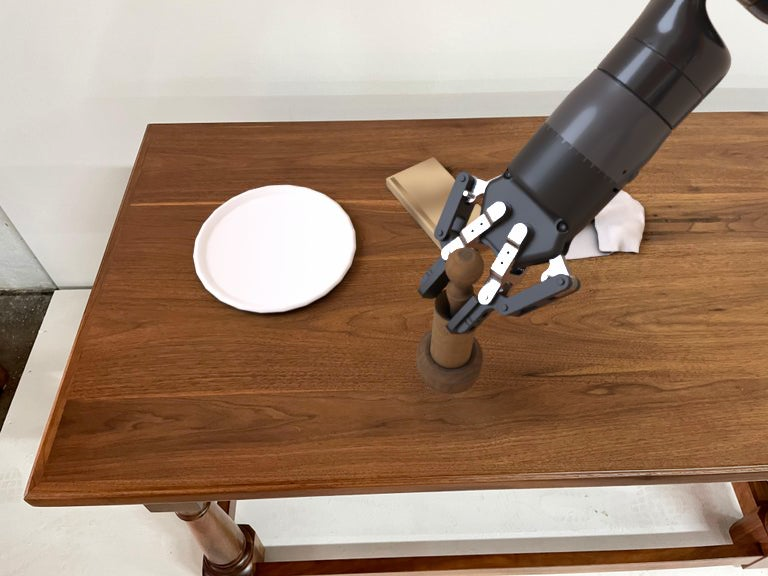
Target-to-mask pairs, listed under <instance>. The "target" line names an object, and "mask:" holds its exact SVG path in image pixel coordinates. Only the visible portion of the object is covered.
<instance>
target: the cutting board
mask: <svg viewBox="0 0 768 576" xmlns="http://www.w3.org/2000/svg"><path fill="white" fill-rule="evenodd" d="M455 180H456V178H454V176H452V175H451V174H450V173H449V171H448V170H447V169H446V168H444V166H443V165H442V164H441V163H440V162H439V161H438V159H437V158H436V157H434V156H432V157H430V158H428V159H426V160H424V161H421V162H418V163H416V164H414V165H413V166H410V167H408V168H405V169H403V170H402V171H399V172H397V173H394V174H393V175H390V176H388V177H386V179H385V186H386V188H387V189H388V190H389V191H390V192H391V194H392V195H393V196H394V197H395V198H396V199H397V200H398V202H399V203H400V204H401V205H402V206H403V208H404V209H405V210H406V211H407V213H409V215H410V216H411V217H412V218H413V220H415V222H416V223H417V224H418V225H419V227H420V228H421V229H422V230H423V231H424V232H425V233H426V235H427V236H428V237H429V238H430V239H431V240H432V242H433V243H434V244H435V245H436V247H438V249H439V250H440V251H441V252H442V248H441V245H440V242H439V240H437V239H436V238H435V236H434V231H435V228H436V226H437V224H438V221H439V219H440V216H441V214H442V211H443V209H444V207H445V204H446V202H447V199H448V197H449V194H450V192H451V190H452V187H453V185H454V182H455ZM480 212H481V205H480V204H479V203H478V204H476V205H475V206H474V209H473V211H472V214H471V216H470V218H469V221H468V223H467V225H466V227H467V226H468V225H470V224H471V223H472V222H474V221H475V220H476V219H477V218H479V217H480Z"/></svg>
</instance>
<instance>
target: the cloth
mask: <svg viewBox="0 0 768 576" xmlns="http://www.w3.org/2000/svg"><path fill="white" fill-rule="evenodd" d="M501 175H502V174H500V175H497V176H495V177H493V178H491V179H489V180H487V181H486V182H488V183H489V182H490V181H491V180H493V179H495V178H497V177H499V176H501ZM645 220H646V215H645V206H644V205H643V204H642V203H641V202H640V201H639V200H637V199H634V198H633V197H632V195H630V194H629V193H628V192H626V191H624V190H623V189H622V190H621V191H620V192H619V193H618V194H617V195H616V196H615V197H614V198H613V199H612V200H611V201H610V202H609V203H608V204H607V205H606V206H605V208H604V209H603V210H602V211H601V212H600V213H599V214H598V215H597V216H596V217H595V218H594V219H593V220H592V221H591V222H590V223H589V224H588V225H587V226H586V227H585V228H584V229H583V230H582V231H581V232H580V233H579V234H577V235H576V236H575V237H574V239H573V240H572V242H571V245H570V248H569V251H568V253H567V255H566V256H565V258H566V260H567V261H571V260H580V259H588V258H589V259H590V258H597V257H606V256H610V255H612V254H613V253H614V252H626V253H631V252H632V253H635V254H639V250H640V247H641V243H642V240H643V233H644V231H645V222H646V221H645Z"/></svg>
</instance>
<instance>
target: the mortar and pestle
mask: <svg viewBox="0 0 768 576" xmlns="http://www.w3.org/2000/svg"><path fill="white" fill-rule="evenodd" d="M445 270H446V274H447V276H448V278H449V279H450V280H451V281H450V282H449V283H448V284H447V286H446V287H445V288H444V289H443V291H442V292H441V293H440V294H439V295H438V296H437V297H436V298H434V304H433V316H432V317H433V318H432V328H431V329H429V330H428V331H427V332H425V333H424V334H423V336H422V337H421V338H420V340H419V341H418V345H417V349H416V355H415V356H416V357H415V365H416V370H417V374H418V375H419V377H420V379H421V380H422V382H423V383H424V384H425V385H426V386H427V387H429V388H430V389H431V390H434V391H435V392H438V393H441V394H446V395H455V394H460V393H464V392H466V391H468V390H470V389H471V388H472V387H473V386H474V385H475V384H476V382H477V381H478V379H479V378H480V375H481V372H482V368H483V367H482V366H483V362H484V352H483V348H482V346H481V343H480V342H479V340H478V338H476V337H475V336H476V335H475V334H476V330H477V328H476V329H475V330H474V332H471V333H469V334H451V333H450V332H449V331H448V330H447V328H446V325H447V323H448V322H449V321H450V320H451V319H452V318H453V317H454V316H455V315H456V314H457V313H458V312H459V311H460V309H461V308H462V307H463V306H464V305H465V304H466V303H467V302H468V301H469V300H470V299H471V298H472V296H477V294H476V293H475V287H474V284H476V283H477V282H479V281H480V279H481V278H482V276H483V274H484V270H485V263H484V259H483V257H482V256H481V254H480V252H479V253H478V252H477V251H476V250H474V249H472V248H468V247H461V248H458V249H455V250H454V251H452V252H451V253H450V255H449V256H448V258H447V260H446V264H445Z"/></svg>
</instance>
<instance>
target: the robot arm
mask: <svg viewBox="0 0 768 576" xmlns="http://www.w3.org/2000/svg"><path fill="white" fill-rule="evenodd" d="M735 2H737V3H738V4H739V5H741V7H742V8H743V9H745V10H746V11H747V12H748V13H749V14H750V15H751V16H752V17H754V18H755V19H756V20H758V21H759V22H761V23H763V24H765V25H767V26H768V0H735ZM731 65H732V55H731V52H730V50H729V48H728V46H727V44H726V42H725V41H724V39H723V37H722V36H721V34H720V33H719V31H718V30H717V28H716V27H715V25H714V23H713V22H712V20H711V18H710V15H709V12H708V9H707V0H649V2H648V3H647V5H646V6H645V8H643V10H642V12H641V13H640V14H639V16H638V17H637V18H636V19H635V21H634V23H632V25H631V26H630V27H629V28H628V30H627V31H626V32H625V33H624V35H623V36H622V37H621V38H620V39H619V40H618V42H617V43H616V44H615V45H614V46H613V47H612V48H611V49H610V51H608V53H607V54H606V55H605V57H604V58H603V59H602V60H601V61H600V62H599V63H598V65H597V66H596V68H594V69H593V70H592V71H591V72H590V73H589V75H587V76H586V77H585V78H584V79H583V80H582V81H580V83H578V84H577V85H576V86H575V87H574V88H573V89H572V90H571V91H570V92H569V93H568V94H567V95H566V97H565V98H563V100H562V101H561V102H560V103H559V105H557V107H556V108H555V109H554V110H553V111H552V113H551V114H550V115H549V116H548V117H547V118H546V120H545V121H544V122H543V123H542V124H541V126H539V128H538V129H537V130H536V131H535V132H534V134H533V135H532V136H531V137H530V138H529V139H528V140H527V142H526V143H525V144H524V146H523V147H521V149H520V150H519V151H518V152H517V154H515V156H514V157H513V158H512V159H511V160H510V162H509V163H508V165H507V168H506V169H505V170H504V172H503V173H502V174H500V175H501V176H500V175H498V176H499V177H498V176H496V177H497V178H496V177H494V178H495V179H493V178H492V179H493V180H491V179H490V180H491V181H490V182H489V183H488V182H487V181H485V180H482V178H479V177H477V176H476V175H473V174H471V173H469V172H467V171H460V172H459V173H458V174H457V176H456V178H455V182H454V185H453V187H452V190H451V192H450V194H449V197H448V199H447V202H446V204H445V207H444V209H443V211H442V214H441V216H440V219H439V221H438V224H437V226H436V228H435V231H434V236H435V238H436V239H437V240H439V242H440V245H441V248H442V251H441V253H440V255H439V257H438V258H437V259H436V260H435V262H433V264H432V265H431V266H430V267H429V269H428V270H427V271H426V272H425V273H424V274H423V276H422V277H421V279H420V281H419V285H420V287H418V289H417V293H418V294H419V295H420V297H421V298H422V299H426V300H435V299H436V297H437V296H438V295H439V294H440V293H441V292H442V291H443V290H445V289H446V288H447V284H448V283H449V282H450V281H451V280H450V279H449V278H448V276H447V274H446V270H445V264H446V260H447V258H448V256H449V255H450V253H451V252H452V251H454V250H455V249H458V248H461V247H468V248H472V249H474V250H476V251H477V252H478V253H479V254H480V253H481V252H485V251H487V250H489V249H491V250H492V252H493V255H494V256H495V257H496V258H495V260H494V262H493V263H492V265H491V267H490V269H489V275H488V277H487V279H486V281H485V282H484V284H483V285H482V287H481V289H480V290H479V292H478V295H476V296H472V298H471V299H470V300H469V301H468V302H467V303H466V304H465V305H464V306H463V307H462V308H461V309H460V311H459V312H458V313H457V314H456V315H455V316H454V317H453V318H452V319H451V320H450V321H449V322H448V323H447V325H446V328H447V330H448V331H449V332H450V333H451V334H469V333H471V332H474V330H475V329H476V330H477V329H478V327H480V325H482V324H483V322H484V321H486V319H487V318H488V317H489V316H490V315H491V314H492V313H493V312H494V311H497V312H498V314H500V315H501V316H506V317H514V318H521V317H523V316H525V315H527V314H530V313H532V312H534V311H537V310H539V309H541V308H543V307H546V306H548V305H550V304H552V303H554V302H557V301H559V300H561V299H564V298H566V297H568V296H570V295H572V294H575V293H577V292H578V291H579V290H580V289H581V285H582V283H581V280H580V279H579V278H578V277H576V276H574V275H573V273H572V270H571V267H570V265H569V263H568V260H566V258H565V256H566V255H567V253H568V251H569V248H570V245H571V242H572V240H573V239H574V237H575V236H576V235H577V234H579V233H580V232H581V231H582V230H583V229H584V228H585V227H586V226H587V225H588V224H589V223H590V222H591V221H592V220H593V219H594V218H595V217H596V216H597V215H598V214H599V213H600V212H601V211H602V210H603V209H604V208H605V206H606V205H607V204H608V203H609V202H610V201H611V200H612V199H613V198H614V197H615V196H616V195H617V194H618V193H619V192H620V191H621V190H622V191H623V189H624V188H625V187H626V186H627V185H628V184H631V183H632V182H633V181H634V180H635V179H636V178H637V176H639V174H640V172H641V170H643V169H644V167H645V166H647V164H648V163H649V162H650V161H651V160H652V159H653V158H654V156H655V155H656V154H657V152H658V151H659V149H660V148H661V147H662V145H663V144H664V142H666V141H667V139H668V138H669V137H670V135H672V133H673V132H674V131H675V130H676V129H677V128H679V126H680V125H681V124H682V123H683V122H684V121H685V120H686V119H687V118H688V117H689V115H691V114H692V113H693V112H694V110H695V109H696V108H697V107H698V106H700V104H701V103H702V102H703V101H704V100H705V99H706V98H707V97H708V95H710V94H711V93H712V91H714V90H715V89H716V87H718V86H719V84H720V83H721V82H722V81H723V79H724V78H725V77H726V76H727V74H728V73H729V71H730V69H731ZM479 203H481V205H480V207H481V212H480V217H479V218H477V219H476V220H475V221H474V222H472V223H471V224H470V225H468V226H467V227H466V225H467V223H468V221H469V218H470V216H471V214H472V211H473V209H474V206H475V205H476V204H479ZM548 263H549V267H548V268H547V270H545V271H543V273H542V274H541V276H540V280H541V281H540V282H538V283H536V284H534V285H531V286H530V287H526V288H525V289H523V290H521V291H518V292H517V293H514V294H512V295H511V293H512V292H513V291H514V289H515V287H516V286H517V285H519V284H520V283H521V282H522V281H523V279H524V277H525V276H526V275H527V273H528V271H529V270H530V268H531V267H534V266H539V265H544V264H548ZM476 330H475V331H476Z"/></svg>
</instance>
